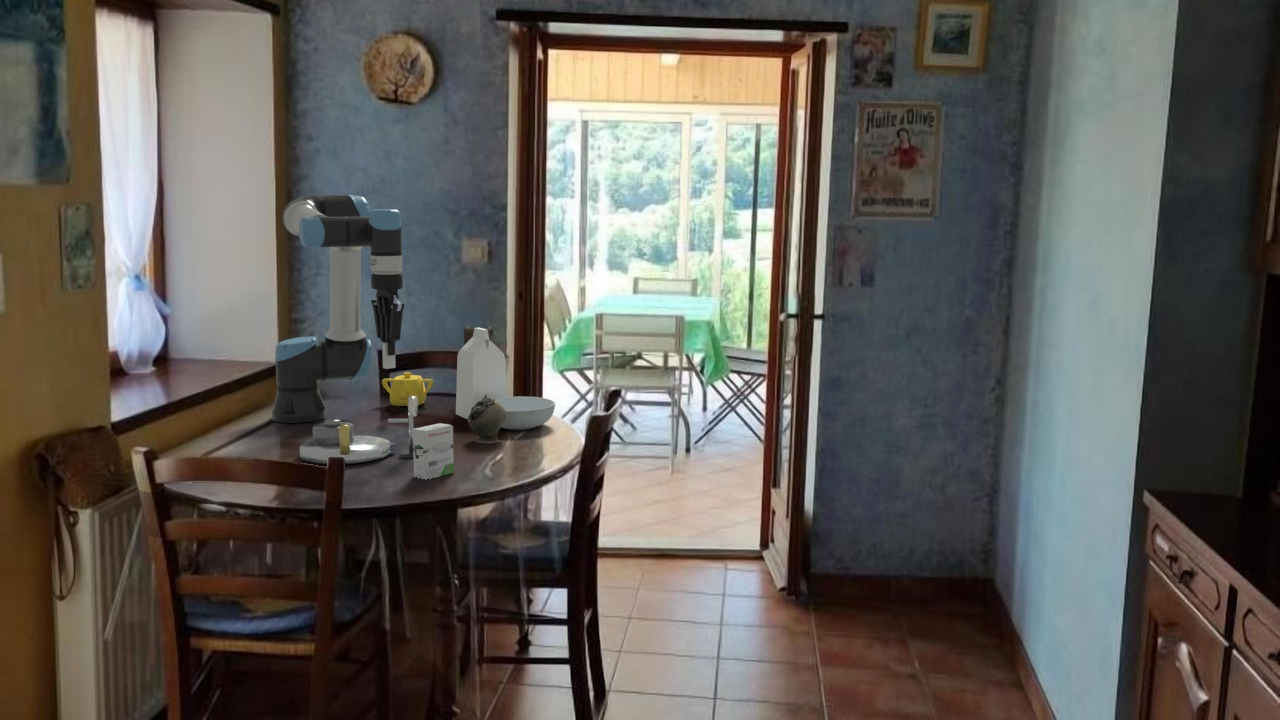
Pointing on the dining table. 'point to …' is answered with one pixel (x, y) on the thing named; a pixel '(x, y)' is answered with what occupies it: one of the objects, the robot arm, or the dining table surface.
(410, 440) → the rod on square base
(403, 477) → the dining table surface
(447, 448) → the ink box
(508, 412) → the serving bowl
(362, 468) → the dining table surface
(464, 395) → the milk
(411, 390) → the teapot
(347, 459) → the turntable
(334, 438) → the cover
